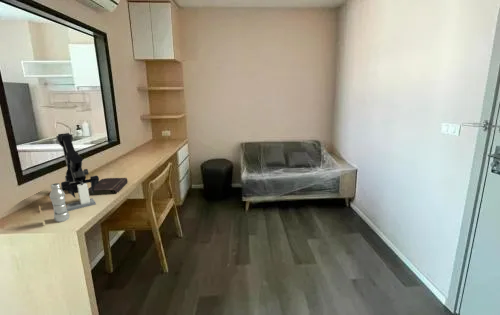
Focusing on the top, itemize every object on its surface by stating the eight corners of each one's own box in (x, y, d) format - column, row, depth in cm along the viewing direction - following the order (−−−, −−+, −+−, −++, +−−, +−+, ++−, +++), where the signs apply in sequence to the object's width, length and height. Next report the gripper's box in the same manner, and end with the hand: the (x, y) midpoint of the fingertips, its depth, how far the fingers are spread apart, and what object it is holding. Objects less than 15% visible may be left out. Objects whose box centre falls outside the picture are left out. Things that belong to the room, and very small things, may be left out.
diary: (128, 183, 199) (127, 177, 198) (116, 196, 175) (115, 189, 174) (101, 184, 196) (100, 178, 195) (85, 198, 172) (84, 190, 171)
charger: (81, 206, 156) (77, 184, 152) (80, 204, 159) (76, 182, 155) (90, 204, 158) (86, 182, 155) (89, 202, 161) (85, 180, 158)
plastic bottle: (59, 225, 136) (51, 187, 131) (52, 222, 139) (44, 185, 134) (72, 220, 142) (65, 183, 137) (65, 217, 145) (58, 181, 140)
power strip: (63, 214, 149) (62, 209, 148) (61, 209, 154) (60, 204, 154) (96, 205, 159) (95, 201, 158) (92, 202, 165) (92, 197, 164)
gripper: (58, 168, 150) (64, 192, 145) (95, 162, 162) (103, 184, 156) (58, 178, 158) (65, 202, 152) (94, 172, 170) (101, 193, 164)
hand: (84, 195), depth 156 cm, fingers open, 9 cm apart
